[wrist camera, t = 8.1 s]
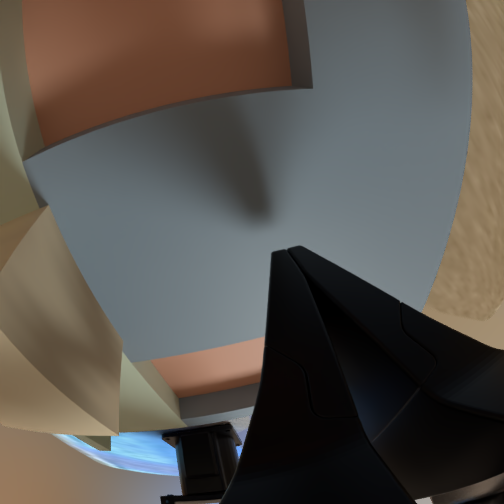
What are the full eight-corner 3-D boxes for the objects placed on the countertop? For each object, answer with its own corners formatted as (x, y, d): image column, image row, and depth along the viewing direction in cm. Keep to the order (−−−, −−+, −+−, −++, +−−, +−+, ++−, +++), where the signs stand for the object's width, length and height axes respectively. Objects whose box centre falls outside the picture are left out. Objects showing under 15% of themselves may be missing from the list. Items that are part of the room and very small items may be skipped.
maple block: (123, 341, 10) (118, 435, 7) (21, 353, 9) (4, 426, 6) (48, 204, 6) (-18, 304, 3) (-52, 251, 6) (-99, 325, 2)
